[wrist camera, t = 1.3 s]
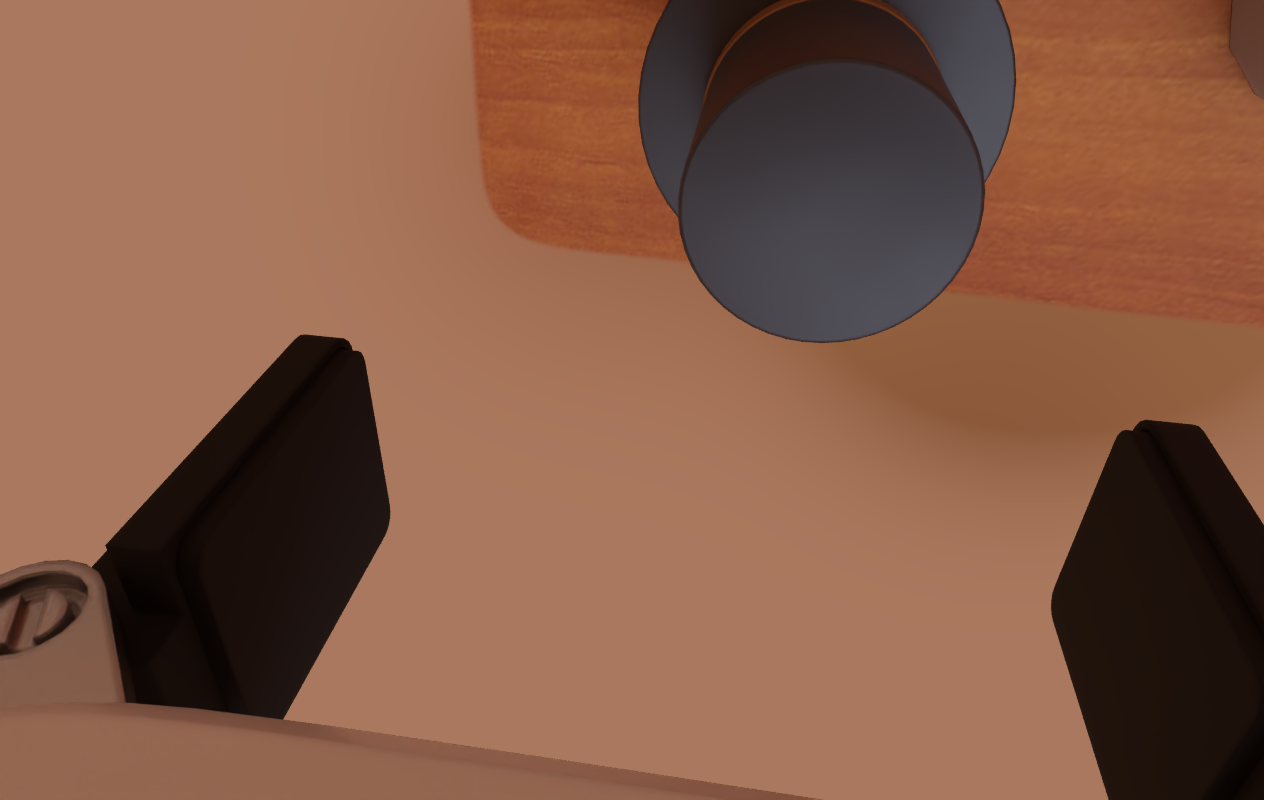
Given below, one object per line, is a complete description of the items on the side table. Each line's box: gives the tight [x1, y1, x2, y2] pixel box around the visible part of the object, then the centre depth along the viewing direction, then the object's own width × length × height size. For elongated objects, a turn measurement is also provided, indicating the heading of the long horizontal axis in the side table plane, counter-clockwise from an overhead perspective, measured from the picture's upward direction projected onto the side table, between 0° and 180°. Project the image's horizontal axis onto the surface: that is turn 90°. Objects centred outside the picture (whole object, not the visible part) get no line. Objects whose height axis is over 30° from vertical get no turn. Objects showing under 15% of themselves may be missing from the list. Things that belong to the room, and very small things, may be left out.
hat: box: [638, 0, 1016, 343], centre depth 18 cm, size 8×8×7 cm
